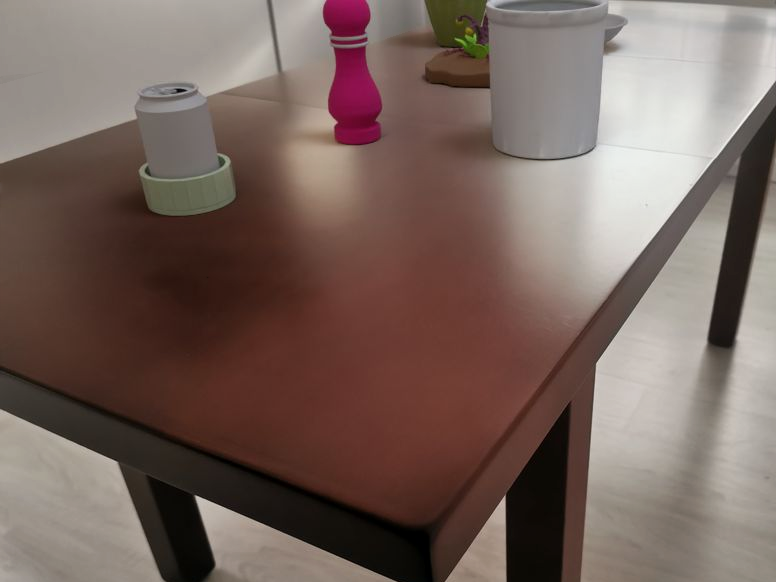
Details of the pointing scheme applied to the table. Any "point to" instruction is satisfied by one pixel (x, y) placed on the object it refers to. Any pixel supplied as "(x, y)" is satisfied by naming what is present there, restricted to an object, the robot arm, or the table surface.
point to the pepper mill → (352, 73)
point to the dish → (613, 26)
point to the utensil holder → (545, 75)
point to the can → (176, 130)
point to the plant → (464, 59)
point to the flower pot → (453, 19)
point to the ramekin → (190, 191)
